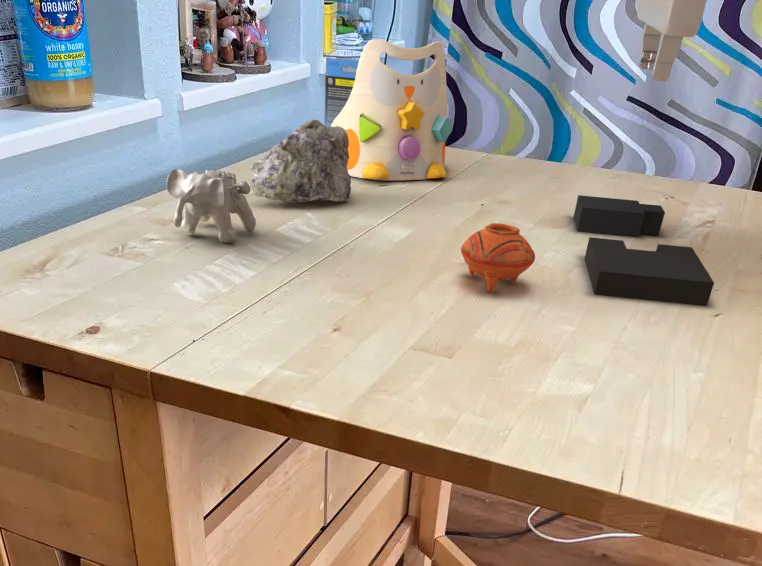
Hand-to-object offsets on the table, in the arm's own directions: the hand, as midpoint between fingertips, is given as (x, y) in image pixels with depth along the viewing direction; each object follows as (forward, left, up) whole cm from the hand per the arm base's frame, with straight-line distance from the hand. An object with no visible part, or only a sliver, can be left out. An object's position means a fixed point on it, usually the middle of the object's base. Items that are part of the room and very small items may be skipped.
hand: (651, 74), depth 95 cm
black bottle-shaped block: (-1, -2, -18) cm, 18 cm away
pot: (+16, +24, -19) cm, 34 cm away
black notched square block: (-1, +18, -18) cm, 25 cm away
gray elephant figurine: (+49, +19, -19) cm, 55 cm away
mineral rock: (+42, -1, -19) cm, 46 cm away
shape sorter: (+31, -20, -19) cm, 41 cm away
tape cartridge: (+41, -41, -19) cm, 61 cm away
